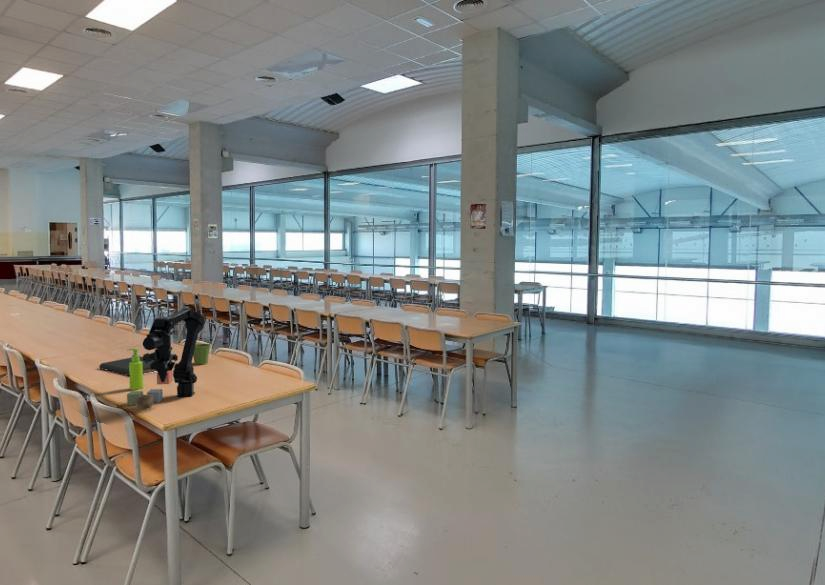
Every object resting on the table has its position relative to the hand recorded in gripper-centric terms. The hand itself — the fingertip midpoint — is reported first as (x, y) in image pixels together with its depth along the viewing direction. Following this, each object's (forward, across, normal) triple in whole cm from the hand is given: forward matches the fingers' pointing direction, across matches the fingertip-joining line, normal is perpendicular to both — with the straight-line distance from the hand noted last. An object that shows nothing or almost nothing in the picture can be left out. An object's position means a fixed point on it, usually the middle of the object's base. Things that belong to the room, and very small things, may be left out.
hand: (164, 380), depth 240 cm
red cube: (+1, 0, 0) cm, 1 cm away
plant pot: (+11, -84, -6) cm, 85 cm away
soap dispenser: (+11, -29, -24) cm, 39 cm away
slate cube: (+11, -6, -6) cm, 14 cm away
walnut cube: (+11, +3, -8) cm, 14 cm away
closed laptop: (+12, -73, -39) cm, 84 cm away
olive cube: (+11, -3, -14) cm, 18 cm away
